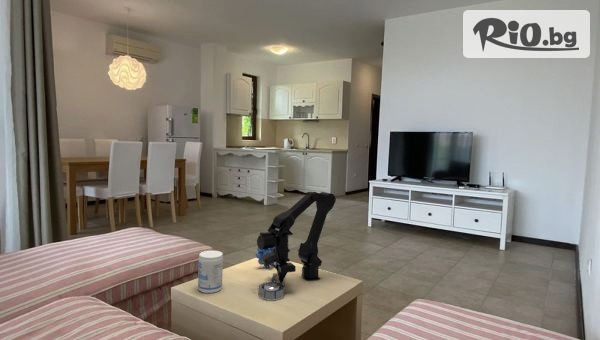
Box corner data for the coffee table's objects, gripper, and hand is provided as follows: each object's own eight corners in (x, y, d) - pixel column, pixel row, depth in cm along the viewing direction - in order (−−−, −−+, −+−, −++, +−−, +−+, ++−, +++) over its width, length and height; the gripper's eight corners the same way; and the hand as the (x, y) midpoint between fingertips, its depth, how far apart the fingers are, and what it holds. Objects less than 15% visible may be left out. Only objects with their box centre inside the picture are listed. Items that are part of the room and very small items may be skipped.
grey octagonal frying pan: (264, 280, 161) (264, 272, 161) (286, 281, 160) (287, 273, 160) (257, 297, 143) (257, 289, 143) (282, 299, 142) (282, 290, 142)
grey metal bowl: (279, 288, 154) (279, 280, 154) (287, 298, 145) (287, 289, 144) (256, 291, 150) (256, 283, 150) (262, 302, 141) (262, 292, 141)
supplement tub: (193, 290, 149) (193, 254, 148) (208, 282, 158) (208, 248, 157) (212, 295, 146) (213, 258, 144) (227, 287, 154) (227, 252, 153)
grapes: (258, 272, 172) (258, 246, 172) (253, 267, 179) (254, 242, 178) (281, 269, 177) (282, 244, 176) (276, 264, 183) (277, 240, 182)
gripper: (256, 242, 162) (256, 278, 163) (269, 253, 145) (269, 293, 146) (281, 240, 166) (280, 275, 167) (296, 251, 149) (295, 289, 150)
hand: (281, 282), depth 157 cm, fingers closed
